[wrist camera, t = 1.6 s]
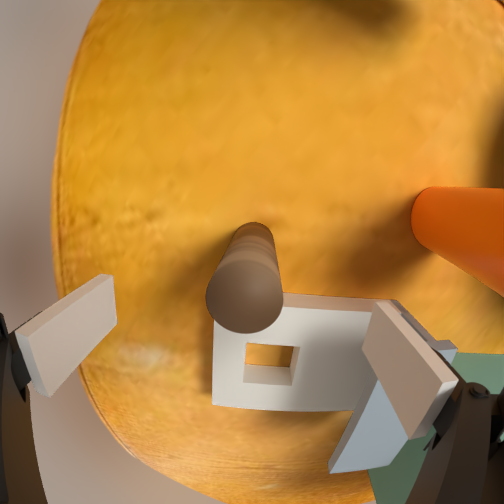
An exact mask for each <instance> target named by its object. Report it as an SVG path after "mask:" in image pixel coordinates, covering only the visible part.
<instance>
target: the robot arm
mask: <svg viewBox="0 0 504 504" xmlns="http://www.w3.org/2000/svg"><path fill="white" fill-rule="evenodd" d="M116 324H117V315H116V306H115V295H114V283H113V275H107V274H99V275H98V276H96V277H95V278H93V279H91V280H90V281H88V282H87V283H85V284H83V285H82V286H80V287H79V288H77V289H76V290H74V291H73V292H71V293H70V294H68V295H66V296H65V297H63V298H62V299H60V300H59V301H57V302H56V303H54V304H53V305H51V306H50V307H48V308H47V309H46V310H44V311H41V312H39V313H38V314H37V315H35V316H34V317H33V318H31V319H29V320H28V321H27V322H25V323H24V324H22V325H21V326H20V327H18V328H17V329H15V330H14V331H12V332H11V333H10V334H8V331H7V327H6V324H5V320H4V316H3V314H2V313H0V504H48V503H47V500H46V496H45V492H44V488H43V485H42V481H41V477H40V472H39V467H38V462H37V457H36V451H35V445H34V438H33V430H32V422H31V412H30V411H31V410H30V392H29V389H28V386H27V384H28V383H29V382H30V381H32V383H33V385H34V388H35V390H36V392H38V393H40V394H42V395H44V396H46V397H48V398H50V397H51V396H52V395H53V394H54V392H55V391H56V390H57V389H58V388H59V387H60V386H61V384H62V383H63V382H64V381H65V380H66V379H67V378H68V376H69V375H70V374H71V373H72V372H73V371H74V369H76V368H77V366H78V365H79V364H80V363H81V362H82V361H83V360H84V359H85V358H86V357H87V355H88V354H89V353H90V352H91V351H92V350H93V349H94V348H95V347H96V346H97V345H98V343H99V342H100V341H101V340H102V339H103V338H104V337H105V336H106V335H107V334H108V333H109V332H110V331H111V330H112V329H113V327H114V326H115V325H116ZM362 350H363V352H364V354H365V356H366V357H367V359H368V361H369V363H370V365H371V366H372V368H373V370H374V372H375V374H376V376H377V378H378V379H379V381H380V383H381V385H382V387H383V389H384V391H385V393H386V395H387V397H388V399H389V400H390V402H391V404H392V406H393V408H394V410H395V412H396V414H397V416H398V418H399V420H400V422H401V424H402V426H403V428H404V430H405V432H406V434H407V436H408V438H409V440H411V439H415V438H419V437H423V436H426V434H427V433H428V431H429V430H430V428H431V427H432V425H433V426H434V428H435V430H436V432H435V434H434V435H433V437H432V438H431V439H430V441H429V442H428V443H427V445H426V446H425V448H424V449H423V451H425V450H426V449H427V448H428V447H429V448H428V451H427V453H426V456H425V459H424V461H423V464H422V467H421V469H420V472H419V474H418V476H417V479H416V481H415V483H414V486H413V488H412V490H411V492H410V494H409V496H408V498H407V500H406V502H405V504H504V440H503V441H502V442H501V439H500V437H501V435H502V434H503V433H504V387H503V389H502V390H501V392H500V394H490V391H489V390H488V389H487V388H486V387H485V386H483V385H482V384H479V383H476V382H468V383H466V381H465V380H464V379H463V378H462V377H461V376H460V375H459V373H458V372H457V371H456V370H455V369H454V368H453V367H452V366H451V364H450V363H449V362H448V361H446V359H445V358H444V357H443V355H442V354H441V353H440V352H438V351H436V350H435V349H433V348H432V347H430V346H429V345H428V344H427V343H426V342H425V341H424V340H423V339H422V338H421V337H420V335H419V334H418V333H417V332H416V331H415V330H414V329H413V328H412V327H411V326H410V325H409V324H408V323H407V322H406V320H405V319H404V318H403V317H402V316H401V315H400V314H399V313H398V312H397V311H396V310H395V309H394V308H393V307H392V306H391V305H390V304H389V303H388V302H375V303H374V307H373V311H372V314H371V318H370V322H369V325H368V329H367V332H366V336H365V339H364V343H363V346H362Z"/></svg>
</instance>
